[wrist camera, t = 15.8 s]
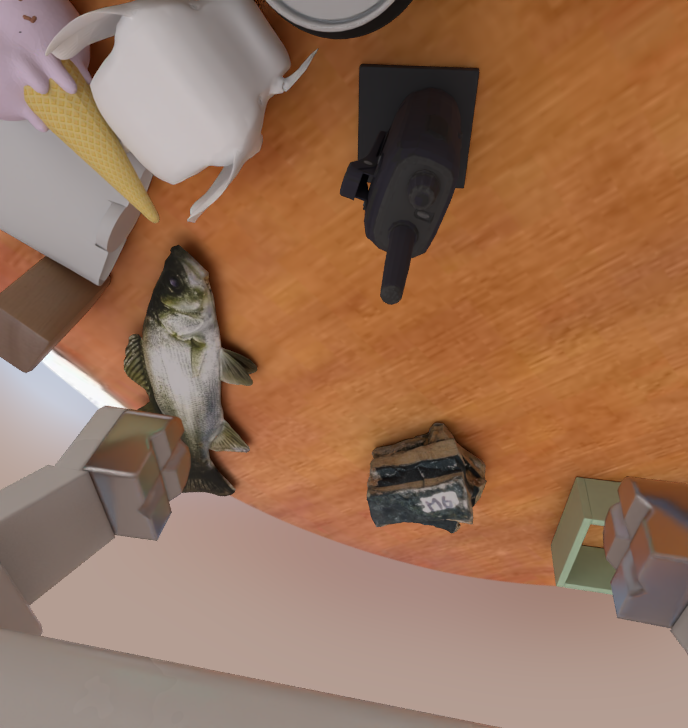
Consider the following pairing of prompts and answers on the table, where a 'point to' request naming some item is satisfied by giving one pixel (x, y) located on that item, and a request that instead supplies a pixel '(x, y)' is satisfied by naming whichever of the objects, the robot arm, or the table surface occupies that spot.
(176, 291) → the fish
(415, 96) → the two-way radio
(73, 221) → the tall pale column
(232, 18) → the elephant figurine
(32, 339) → the wooden block
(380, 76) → the rubber pad
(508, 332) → the table surface
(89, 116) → the ice cream cone
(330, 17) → the beverage can
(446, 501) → the rock
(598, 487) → the green rectangular open frame
